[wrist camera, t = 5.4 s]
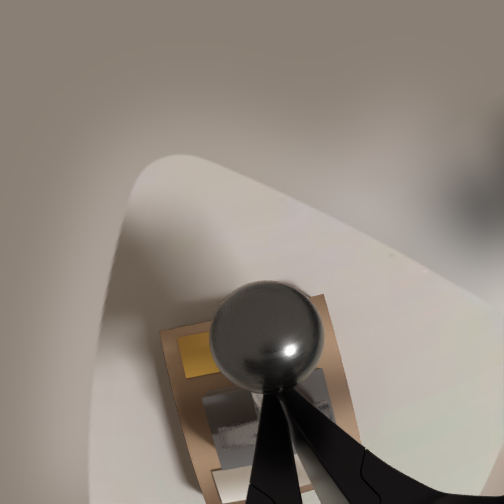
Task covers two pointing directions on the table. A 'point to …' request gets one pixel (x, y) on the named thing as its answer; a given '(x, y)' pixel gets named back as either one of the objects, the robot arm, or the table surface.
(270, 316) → the lever
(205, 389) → the switch unit
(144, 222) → the table surface
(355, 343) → the table surface
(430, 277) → the table surface
